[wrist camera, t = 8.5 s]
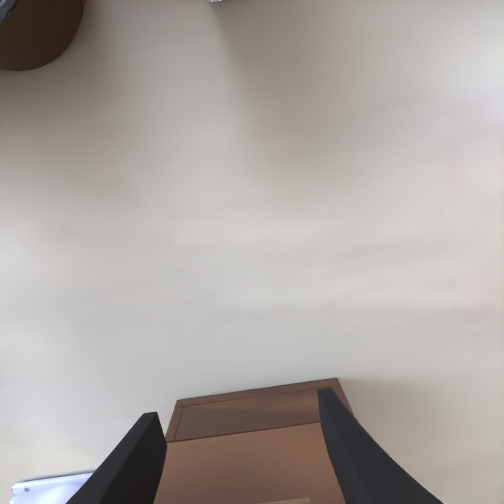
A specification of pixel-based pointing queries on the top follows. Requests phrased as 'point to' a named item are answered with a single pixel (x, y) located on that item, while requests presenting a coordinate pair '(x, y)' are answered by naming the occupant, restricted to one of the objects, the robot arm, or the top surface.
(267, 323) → the top surface
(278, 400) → the brown lidded crate
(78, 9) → the olive oil
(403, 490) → the robot arm
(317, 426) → the lid
